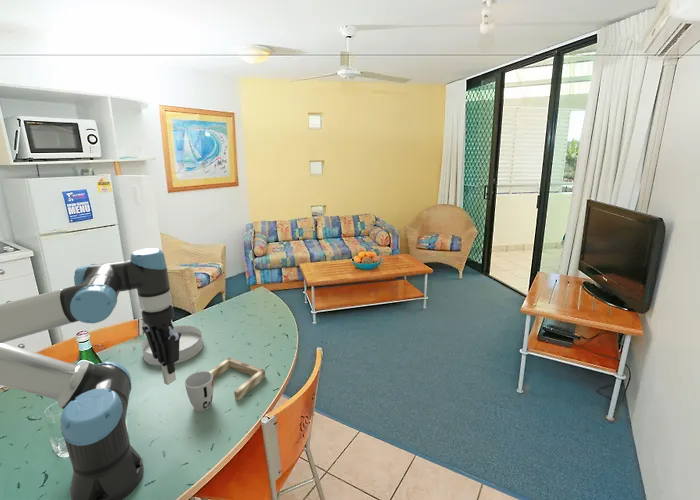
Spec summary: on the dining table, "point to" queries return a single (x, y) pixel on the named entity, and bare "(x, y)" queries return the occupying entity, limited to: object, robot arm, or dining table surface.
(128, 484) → the robot arm
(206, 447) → the dining table surface
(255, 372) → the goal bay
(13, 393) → the dining table surface
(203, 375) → the cup
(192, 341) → the dish
